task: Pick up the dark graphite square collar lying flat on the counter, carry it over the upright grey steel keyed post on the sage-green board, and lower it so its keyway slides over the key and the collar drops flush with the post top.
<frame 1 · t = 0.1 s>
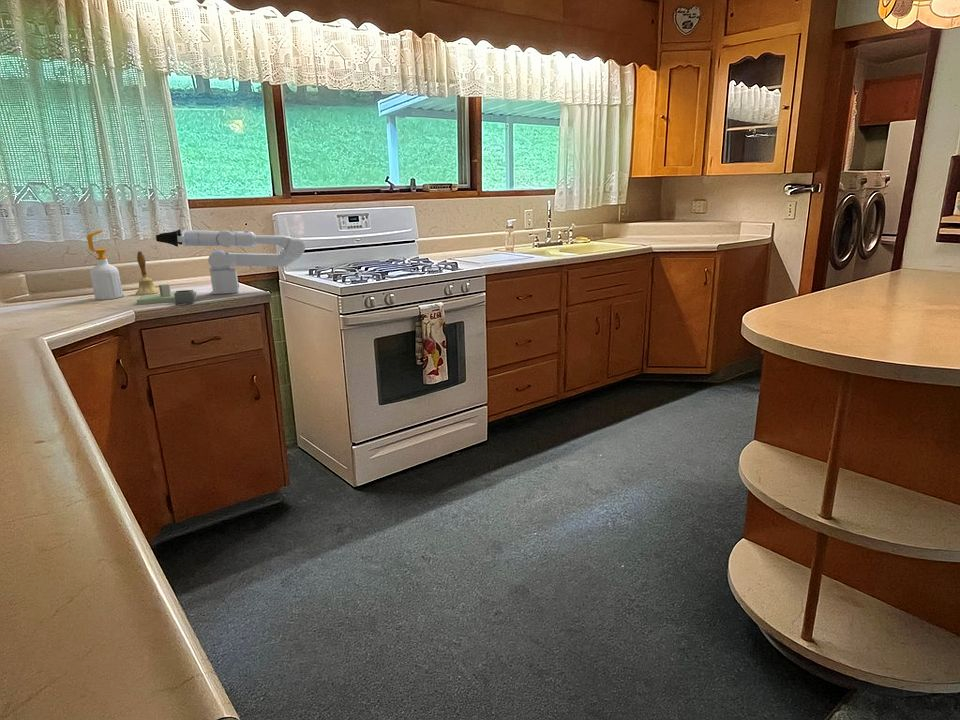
hand: (157, 237, 221), 22 cm above the countertop, tool horizontal, fingers open, 7 cm apart
hand bell: (147, 293, 235), on the countertop
soap bottle: (109, 298, 227), on the countertop
post board: (168, 299, 220), on the countertop
collar: (185, 302, 213), on the countertop
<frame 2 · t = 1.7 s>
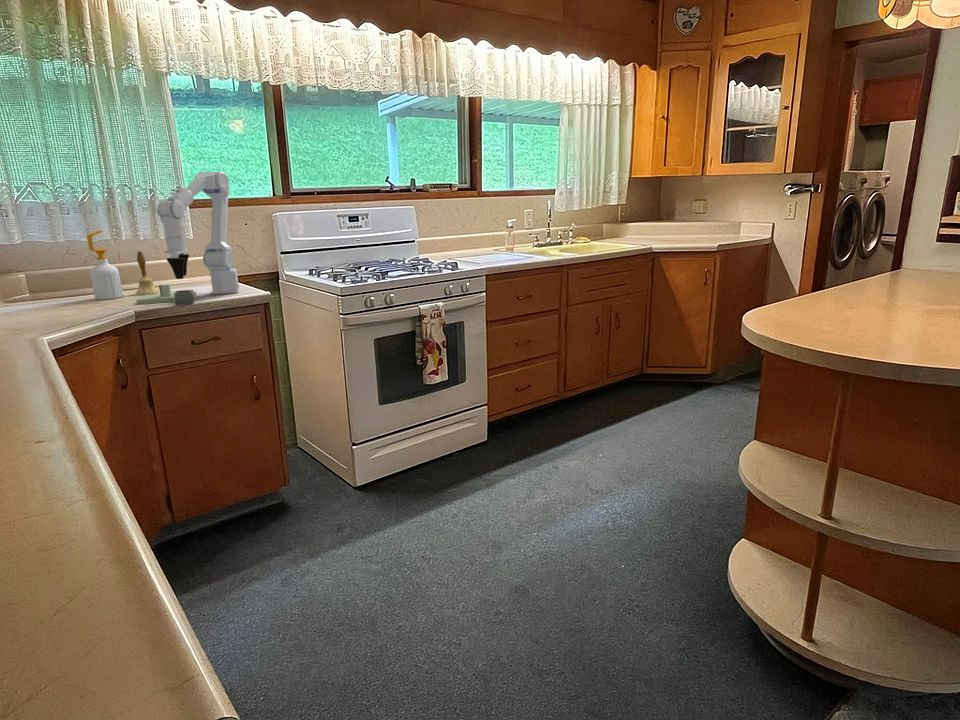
hand: (181, 277, 211), 9 cm above the countertop, tool pointing down, fingers open, 7 cm apart
nothing on the countertop moved.
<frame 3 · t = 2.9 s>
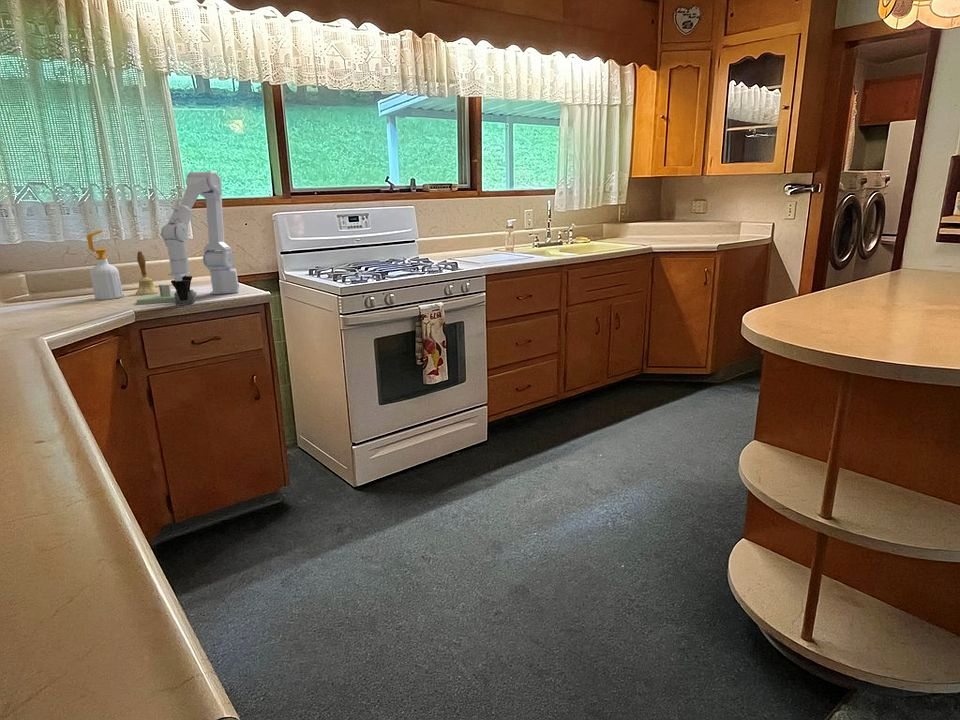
hand: (185, 298, 213), 1 cm above the countertop, tool pointing down, fingers closed on collar, 5 cm apart
collar: (185, 302, 213), on the countertop, touching gripper
everything else where it was.
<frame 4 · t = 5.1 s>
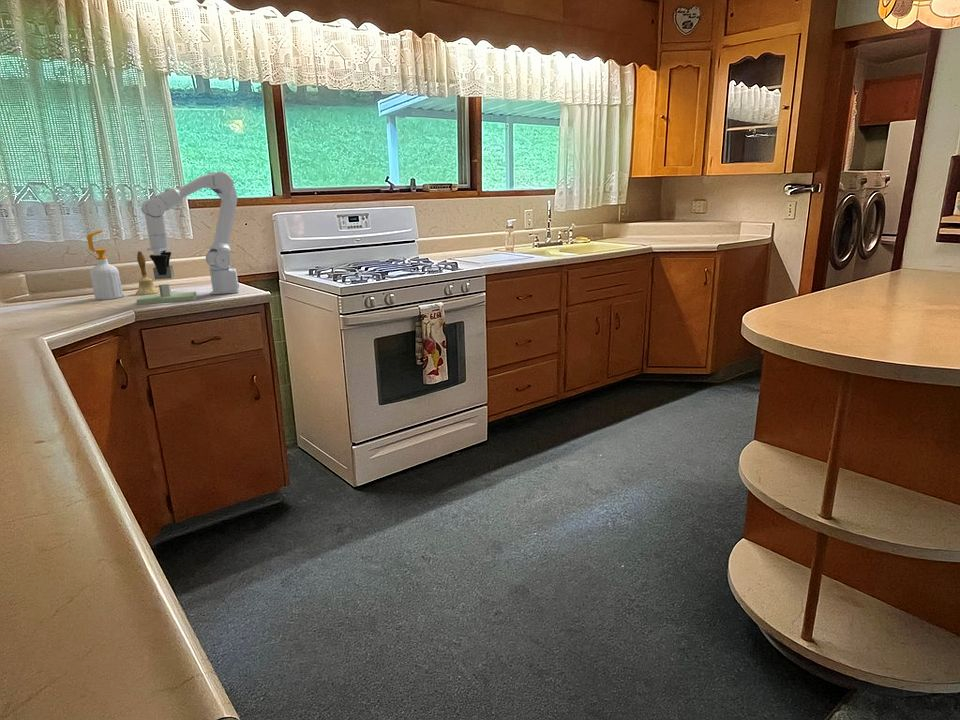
hand: (164, 273, 217), 9 cm above the countertop, tool pointing down, fingers closed on collar, 5 cm apart
collar: (164, 277, 217), point 8 cm above the countertop, touching gripper
everything else where it was.
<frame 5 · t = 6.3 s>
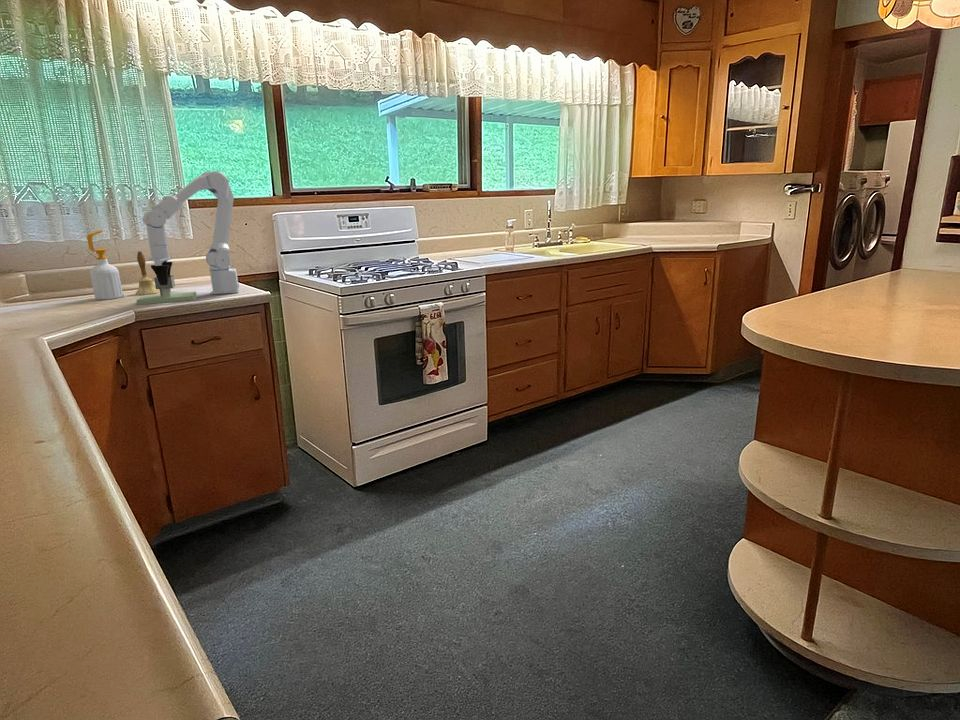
hand: (165, 283, 218), 6 cm above the countertop, tool pointing down, fingers closed on collar, 5 cm apart
collar: (165, 287, 219), point 4 cm above the countertop, touching gripper
everything else where it was.
when the fingers open (4 cm above the countertop, at t = 7.3 s): collar stays where it is, resting on post board.
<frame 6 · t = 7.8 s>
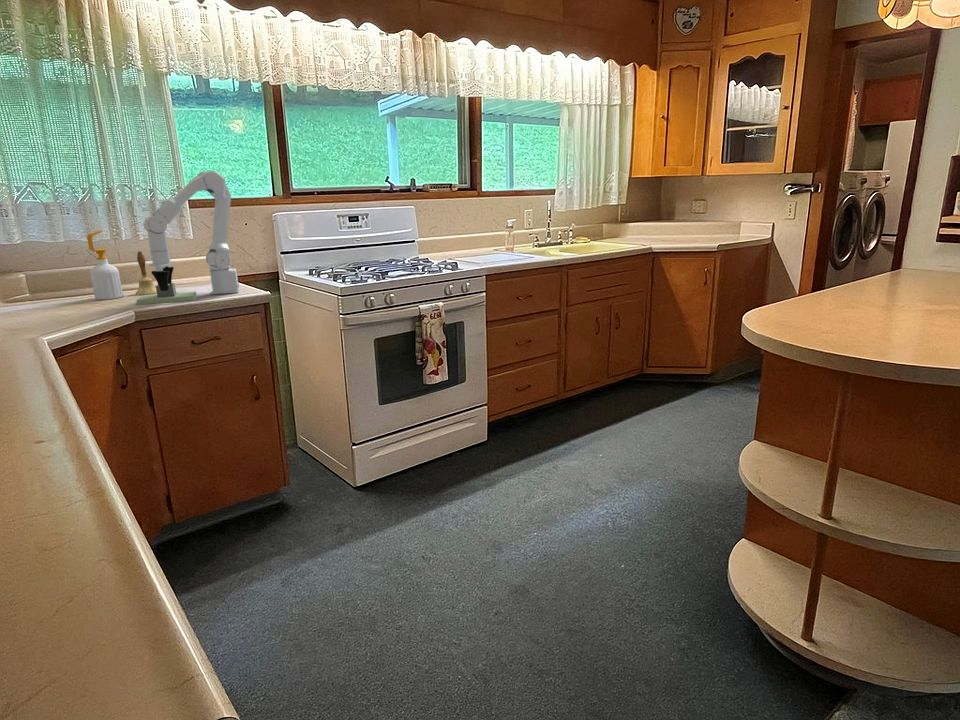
hand: (166, 289, 219), 4 cm above the countertop, tool pointing down, fingers open, 7 cm apart
collar: (167, 295, 220), point 1 cm above the countertop, touching post board
everything else where it was.
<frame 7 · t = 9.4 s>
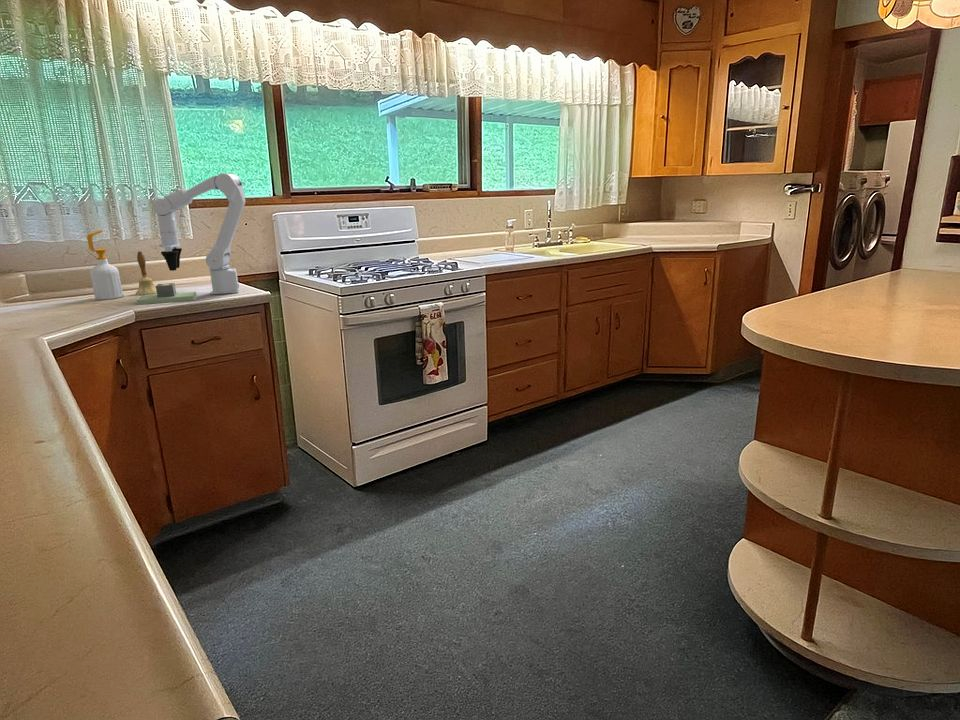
hand: (174, 269, 229), 9 cm above the countertop, tool pointing down, fingers open, 7 cm apart
nothing on the countertop moved.
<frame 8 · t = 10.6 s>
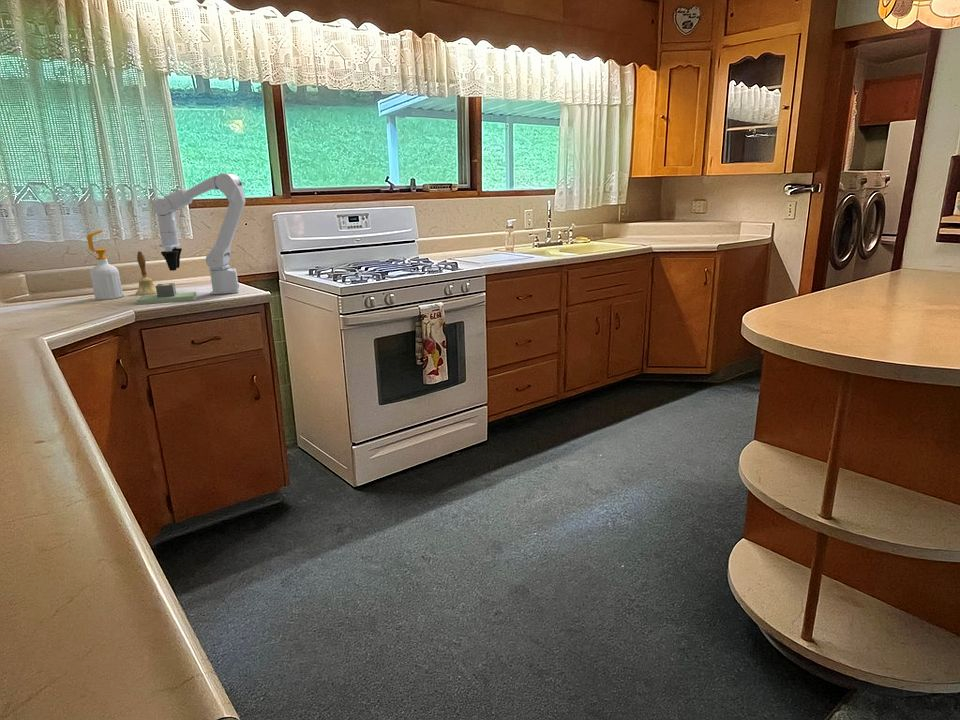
hand: (174, 269, 229), 9 cm above the countertop, tool pointing down, fingers open, 7 cm apart
nothing on the countertop moved.
at the end: collar 0.1 cm from the post board (horizontally); collar point 1.5 cm above the countertop; collar tilted 0° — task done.
